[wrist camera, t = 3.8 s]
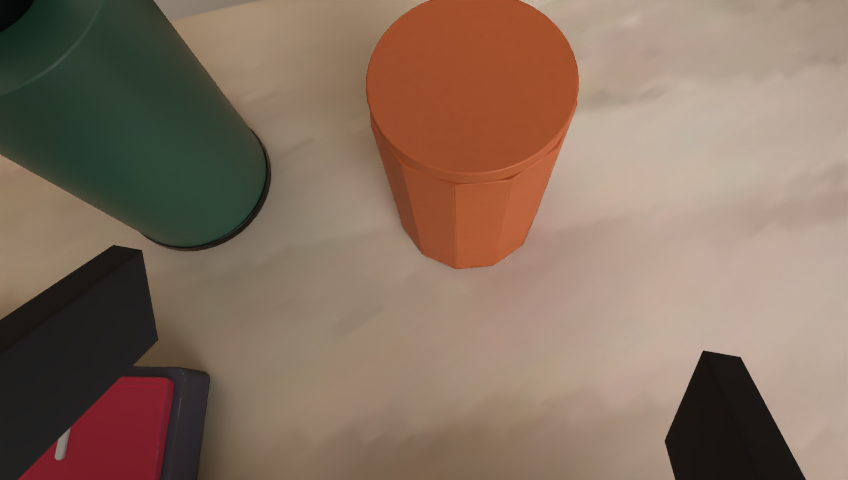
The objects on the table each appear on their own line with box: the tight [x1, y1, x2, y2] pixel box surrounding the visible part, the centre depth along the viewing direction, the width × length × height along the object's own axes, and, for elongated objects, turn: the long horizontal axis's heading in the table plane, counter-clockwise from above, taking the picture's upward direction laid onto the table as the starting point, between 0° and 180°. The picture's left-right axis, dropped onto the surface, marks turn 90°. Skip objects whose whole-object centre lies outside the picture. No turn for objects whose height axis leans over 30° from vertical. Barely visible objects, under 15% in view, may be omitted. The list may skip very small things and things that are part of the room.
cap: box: [366, 0, 579, 269], centre depth 24 cm, size 7×7×12 cm
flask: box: [0, 0, 271, 251], centre depth 23 cm, size 9×9×18 cm
